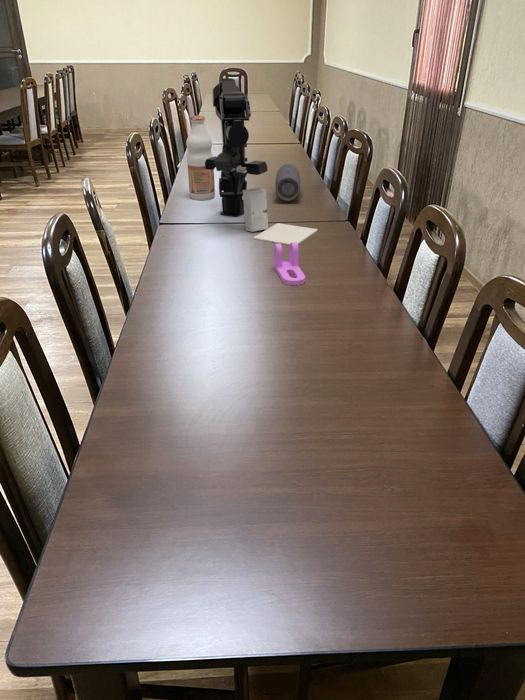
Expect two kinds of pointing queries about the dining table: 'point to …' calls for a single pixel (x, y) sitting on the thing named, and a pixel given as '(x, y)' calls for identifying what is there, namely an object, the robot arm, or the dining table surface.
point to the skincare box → (255, 209)
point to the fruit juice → (199, 161)
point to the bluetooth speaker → (288, 182)
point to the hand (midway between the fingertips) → (236, 194)
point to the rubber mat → (285, 234)
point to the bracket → (288, 265)
